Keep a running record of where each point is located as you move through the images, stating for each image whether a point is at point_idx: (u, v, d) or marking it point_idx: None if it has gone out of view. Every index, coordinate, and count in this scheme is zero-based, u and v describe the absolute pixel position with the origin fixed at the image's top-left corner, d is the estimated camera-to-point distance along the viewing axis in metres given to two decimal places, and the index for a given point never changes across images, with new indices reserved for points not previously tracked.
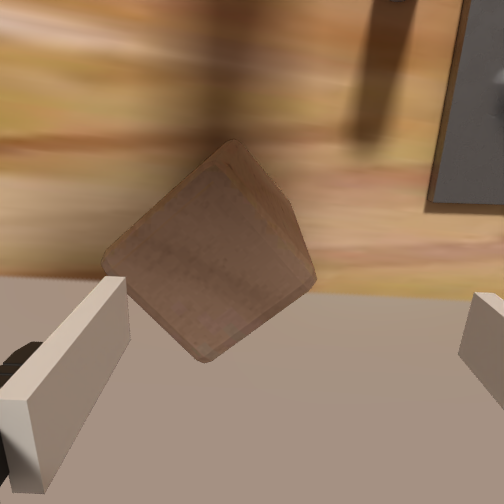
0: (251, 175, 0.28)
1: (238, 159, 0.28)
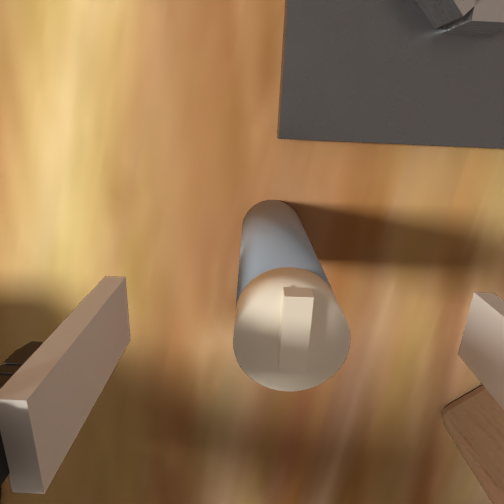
0: None
1: None
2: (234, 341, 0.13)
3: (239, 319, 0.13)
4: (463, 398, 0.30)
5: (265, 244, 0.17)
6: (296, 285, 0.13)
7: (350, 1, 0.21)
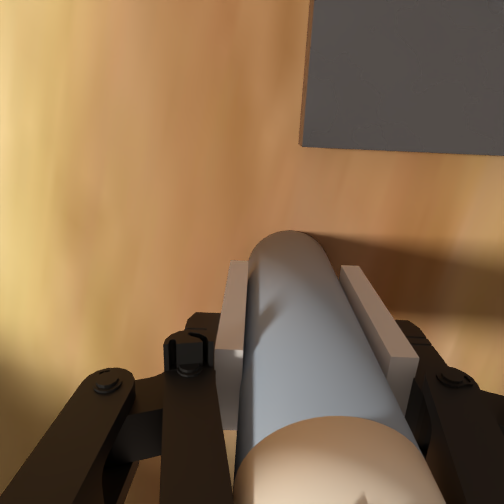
0: None
1: None
2: None
3: None
4: None
5: (286, 333, 0.10)
6: (368, 496, 0.06)
7: None
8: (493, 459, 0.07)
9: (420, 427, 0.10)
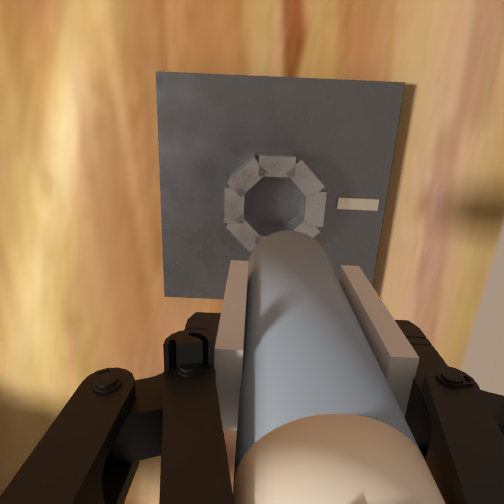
0: None
1: None
2: None
3: None
4: None
5: (286, 332, 0.10)
6: (367, 493, 0.06)
7: (198, 227, 0.35)
8: (493, 459, 0.07)
9: (420, 427, 0.10)
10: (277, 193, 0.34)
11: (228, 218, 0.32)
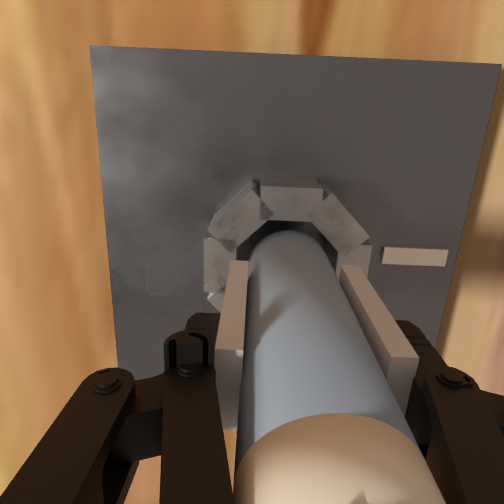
0: None
1: None
2: None
3: None
4: None
5: (286, 331, 0.10)
6: (367, 492, 0.06)
7: (167, 289, 0.23)
8: (493, 459, 0.07)
9: (420, 427, 0.10)
10: None
11: (210, 285, 0.20)
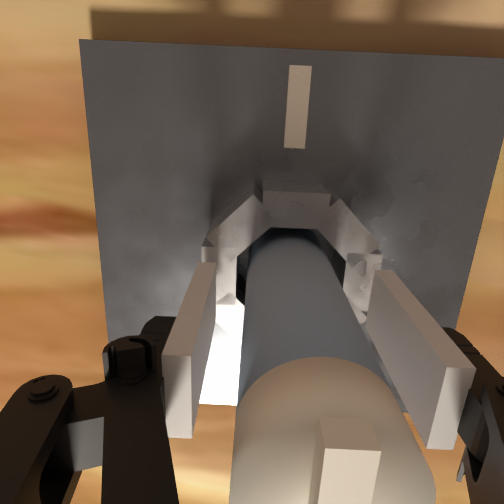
0: None
1: None
2: (231, 498, 0.08)
3: (240, 465, 0.07)
4: None
5: (281, 300, 0.12)
6: (341, 406, 0.07)
7: None
8: None
9: (476, 438, 0.10)
10: None
11: None
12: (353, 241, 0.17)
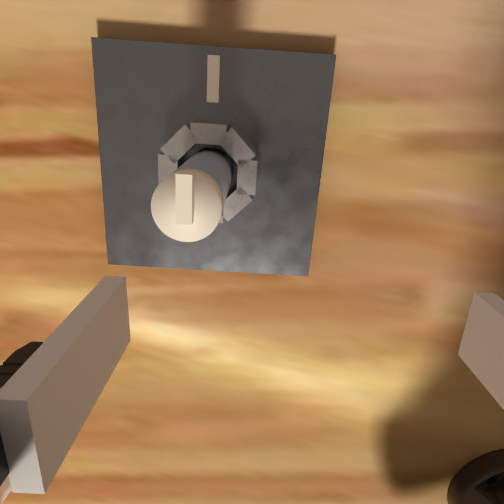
0: None
1: None
2: (151, 207, 0.22)
3: None
4: None
5: (186, 163, 0.26)
6: (187, 172, 0.22)
7: (238, 240, 0.38)
8: None
9: None
10: None
11: None
12: (240, 152, 0.32)
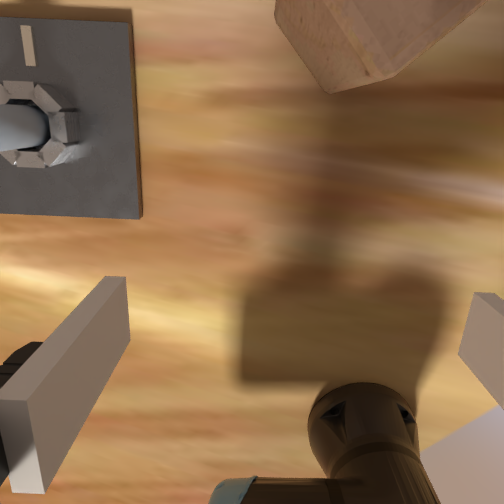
0: (333, 60, 0.29)
1: (344, 77, 0.29)
2: None
3: None
4: (316, 77, 0.40)
5: None
6: None
7: (74, 187, 0.44)
8: None
9: None
10: None
11: (40, 164, 0.40)
12: (48, 105, 0.38)
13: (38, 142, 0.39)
